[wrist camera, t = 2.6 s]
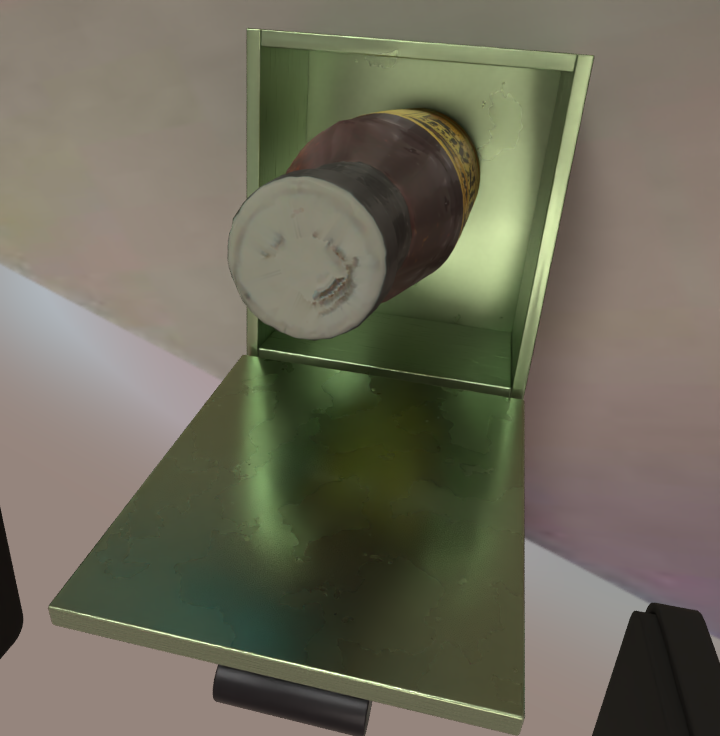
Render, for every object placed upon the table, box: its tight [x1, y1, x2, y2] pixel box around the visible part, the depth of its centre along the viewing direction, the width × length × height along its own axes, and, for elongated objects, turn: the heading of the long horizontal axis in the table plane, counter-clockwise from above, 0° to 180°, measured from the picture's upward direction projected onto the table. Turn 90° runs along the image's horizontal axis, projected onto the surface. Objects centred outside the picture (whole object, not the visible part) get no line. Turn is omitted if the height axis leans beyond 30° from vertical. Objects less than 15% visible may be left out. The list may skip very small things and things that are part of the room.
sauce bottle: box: [228, 108, 480, 341], centre depth 24 cm, size 7×6×20 cm
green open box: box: [247, 28, 594, 400], centre depth 31 cm, size 14×13×8 cm
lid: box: [48, 355, 525, 736], centre depth 25 cm, size 15×13×5 cm
